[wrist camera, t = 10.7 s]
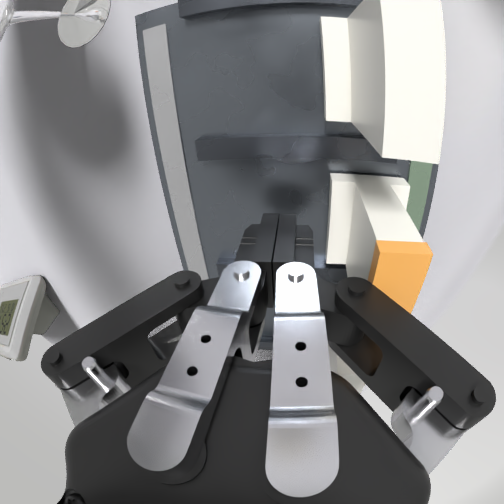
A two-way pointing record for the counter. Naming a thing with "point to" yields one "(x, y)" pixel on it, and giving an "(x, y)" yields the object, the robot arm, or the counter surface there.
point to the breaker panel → (252, 127)
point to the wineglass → (63, 19)
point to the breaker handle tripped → (376, 235)
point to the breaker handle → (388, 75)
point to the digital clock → (23, 315)
